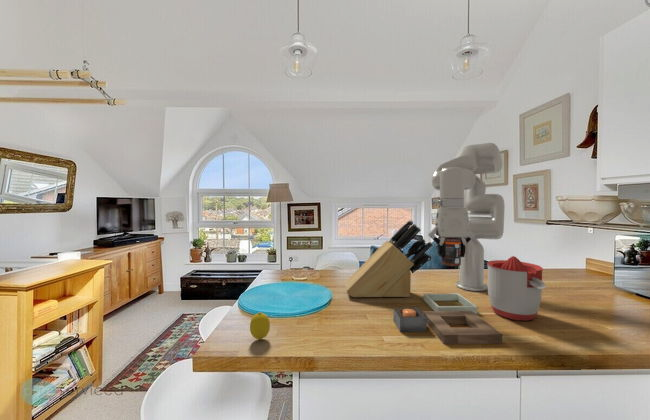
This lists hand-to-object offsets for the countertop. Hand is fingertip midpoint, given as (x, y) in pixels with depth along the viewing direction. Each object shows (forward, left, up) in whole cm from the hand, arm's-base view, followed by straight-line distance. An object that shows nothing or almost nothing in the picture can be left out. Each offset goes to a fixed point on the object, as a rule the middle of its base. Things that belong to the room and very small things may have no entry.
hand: (451, 256), depth 93 cm
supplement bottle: (0, 0, -3) cm, 3 cm away
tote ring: (-6, +2, -20) cm, 21 cm away
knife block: (-21, -17, -20) cm, 34 cm away
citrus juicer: (+2, +21, -20) cm, 29 cm away
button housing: (+9, -17, -20) cm, 28 cm away
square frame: (+12, -3, -20) cm, 24 cm away
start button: (+9, -17, -20) cm, 27 cm away
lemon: (+17, -62, -20) cm, 67 cm away
